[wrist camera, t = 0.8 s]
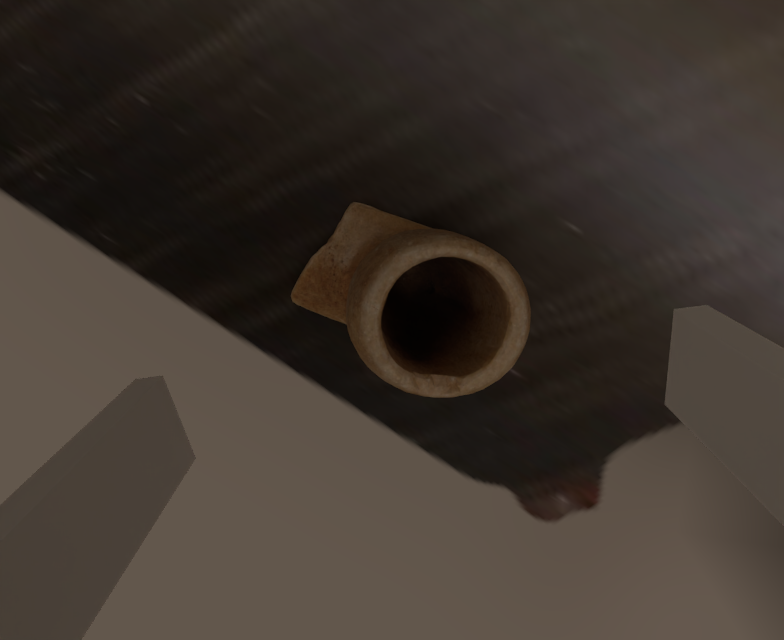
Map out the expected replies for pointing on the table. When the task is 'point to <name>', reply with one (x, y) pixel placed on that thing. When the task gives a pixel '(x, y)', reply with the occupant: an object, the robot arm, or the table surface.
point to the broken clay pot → (419, 302)
